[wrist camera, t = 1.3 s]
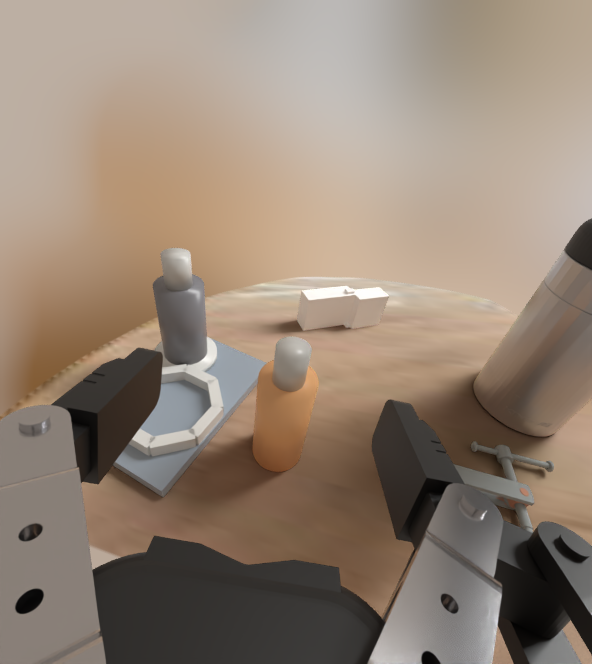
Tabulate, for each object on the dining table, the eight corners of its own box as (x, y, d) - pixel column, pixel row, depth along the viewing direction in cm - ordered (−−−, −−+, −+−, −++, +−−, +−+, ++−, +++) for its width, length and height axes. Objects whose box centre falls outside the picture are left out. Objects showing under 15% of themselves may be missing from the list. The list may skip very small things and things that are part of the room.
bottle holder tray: (188, 334, 39) (178, 231, 31) (268, 370, 36) (279, 266, 28) (60, 431, 27) (-9, 304, 19) (163, 497, 24) (131, 379, 16)
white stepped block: (279, 335, 42) (283, 299, 39) (301, 294, 51) (307, 261, 47) (392, 368, 40) (408, 332, 36) (396, 319, 49) (409, 287, 45)
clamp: (396, 514, 24) (395, 411, 32) (387, 526, 25) (388, 424, 33) (614, 581, 22) (555, 454, 30) (592, 590, 24) (541, 467, 31)
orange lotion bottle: (267, 420, 31) (280, 320, 24) (309, 440, 30) (335, 342, 22) (242, 456, 28) (247, 354, 20) (287, 481, 27) (310, 382, 19)
